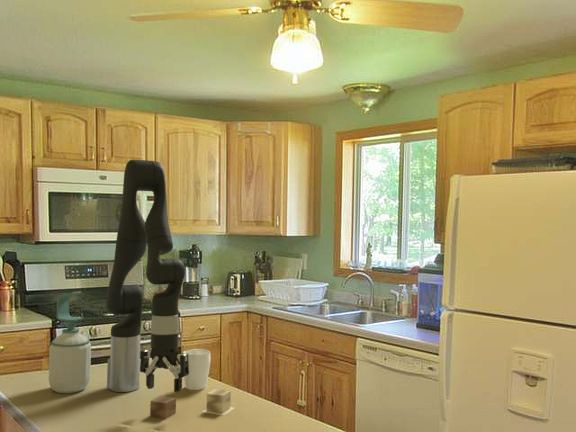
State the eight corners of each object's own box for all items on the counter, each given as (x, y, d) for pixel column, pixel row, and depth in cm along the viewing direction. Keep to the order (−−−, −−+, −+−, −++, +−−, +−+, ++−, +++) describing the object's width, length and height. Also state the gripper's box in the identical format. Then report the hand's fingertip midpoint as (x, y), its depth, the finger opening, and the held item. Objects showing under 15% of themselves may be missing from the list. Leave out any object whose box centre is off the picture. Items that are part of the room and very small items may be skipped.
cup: (204, 394, 181) (205, 355, 181) (177, 391, 183) (178, 354, 183) (213, 386, 190) (214, 349, 190) (187, 384, 192) (188, 347, 192)
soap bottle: (71, 397, 175) (74, 294, 176) (39, 392, 180) (41, 292, 180) (98, 386, 187) (100, 290, 187) (67, 382, 191) (69, 288, 191)
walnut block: (150, 419, 158) (150, 400, 158) (160, 413, 163) (160, 395, 163) (165, 421, 156) (166, 403, 156) (175, 416, 161) (176, 398, 161)
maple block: (206, 411, 163) (206, 393, 163) (214, 405, 168) (215, 388, 168) (222, 413, 162) (222, 395, 162) (230, 408, 166) (230, 390, 166)
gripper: (135, 331, 159) (134, 390, 158) (180, 335, 154) (179, 396, 153) (150, 327, 166) (149, 383, 165) (194, 330, 161) (193, 389, 160)
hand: (163, 389), depth 159 cm, fingers open, 8 cm apart
